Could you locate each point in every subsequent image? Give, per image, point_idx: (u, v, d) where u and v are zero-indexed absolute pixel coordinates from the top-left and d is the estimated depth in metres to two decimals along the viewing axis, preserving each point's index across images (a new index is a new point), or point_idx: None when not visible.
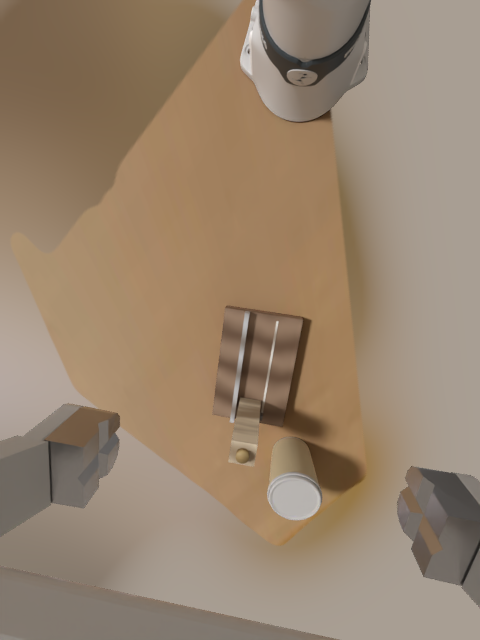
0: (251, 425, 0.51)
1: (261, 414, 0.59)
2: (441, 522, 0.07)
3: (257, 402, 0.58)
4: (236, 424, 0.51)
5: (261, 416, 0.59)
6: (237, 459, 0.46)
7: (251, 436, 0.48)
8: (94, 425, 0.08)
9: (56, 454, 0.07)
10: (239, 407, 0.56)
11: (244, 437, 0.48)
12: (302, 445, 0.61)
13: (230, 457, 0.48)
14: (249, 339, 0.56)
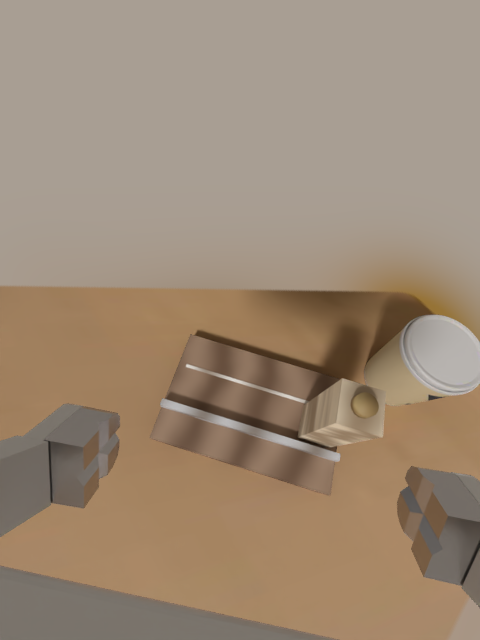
0: (323, 402, 0.31)
1: None
2: (441, 522, 0.07)
3: (303, 409, 0.38)
4: (321, 425, 0.30)
5: None
6: (371, 413, 0.25)
7: (334, 393, 0.29)
8: (94, 425, 0.08)
9: (56, 454, 0.07)
10: (305, 432, 0.34)
11: (334, 403, 0.28)
12: (373, 357, 0.43)
13: (372, 431, 0.26)
14: (205, 407, 0.38)
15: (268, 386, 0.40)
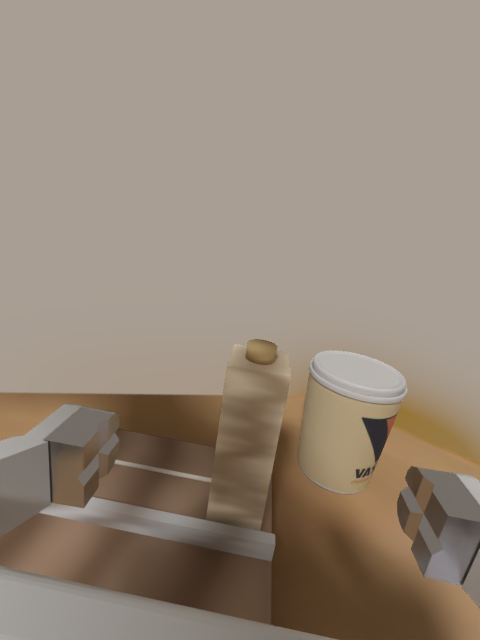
0: None
1: None
2: (441, 522, 0.07)
3: None
4: None
5: None
6: (268, 349, 0.20)
7: None
8: (94, 425, 0.08)
9: (56, 454, 0.07)
10: None
11: None
12: None
13: (276, 372, 0.19)
14: None
15: (164, 466, 0.28)
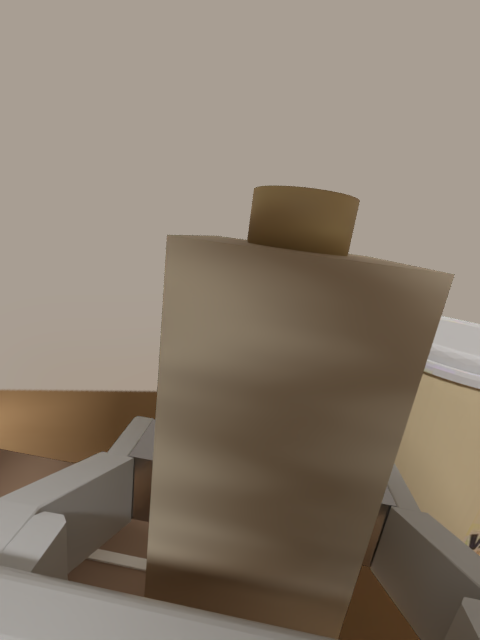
0: None
1: None
2: None
3: None
4: None
5: None
6: None
7: None
8: None
9: (141, 470, 0.07)
10: None
11: None
12: None
13: (382, 264, 0.04)
14: None
15: None
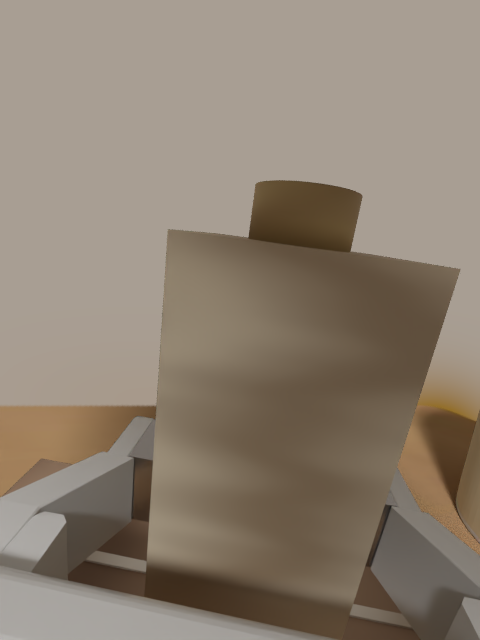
0: None
1: None
2: None
3: None
4: None
5: None
6: None
7: None
8: None
9: (141, 470, 0.07)
10: None
11: None
12: (462, 480, 0.20)
13: (386, 258, 0.04)
14: None
15: None
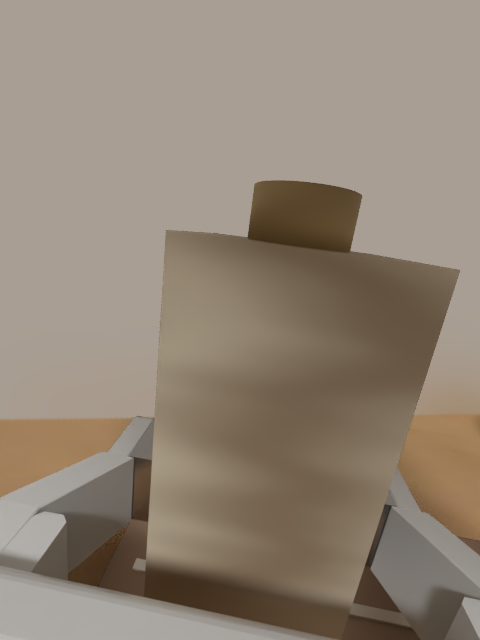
0: None
1: None
2: None
3: None
4: None
5: None
6: None
7: None
8: None
9: (141, 470, 0.07)
10: None
11: None
12: None
13: (385, 259, 0.04)
14: None
15: None
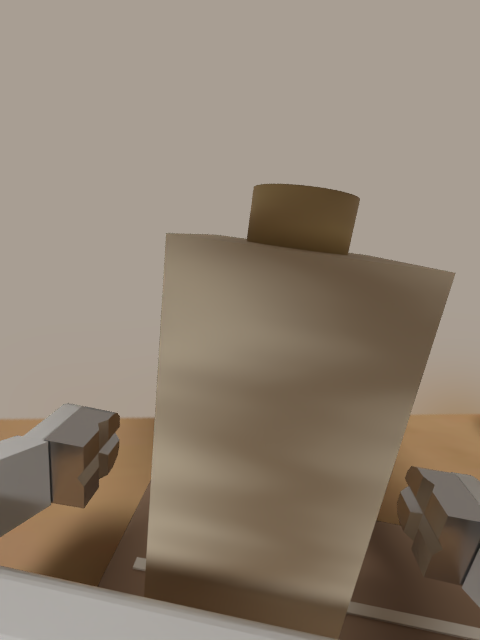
0: None
1: None
2: (441, 522, 0.07)
3: None
4: None
5: None
6: None
7: None
8: (94, 425, 0.08)
9: (56, 454, 0.07)
10: None
11: None
12: None
13: (382, 262, 0.04)
14: None
15: (408, 605, 0.12)
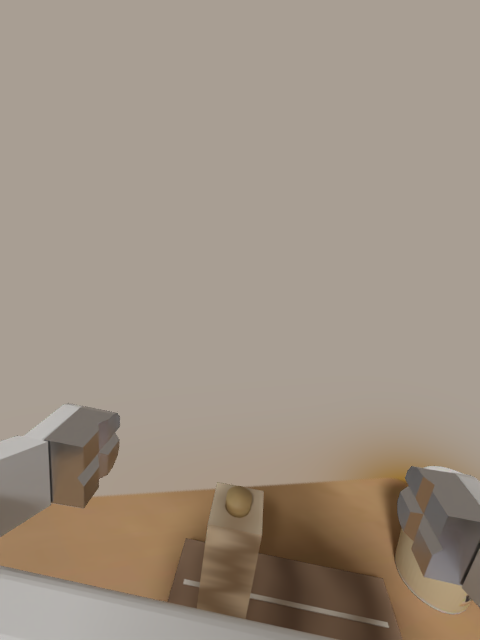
0: None
1: None
2: (441, 522, 0.07)
3: None
4: (203, 562, 0.24)
5: None
6: (243, 504, 0.23)
7: None
8: (94, 425, 0.08)
9: (56, 454, 0.07)
10: None
11: None
12: (398, 544, 0.38)
13: (250, 529, 0.22)
14: None
15: (295, 599, 0.30)
